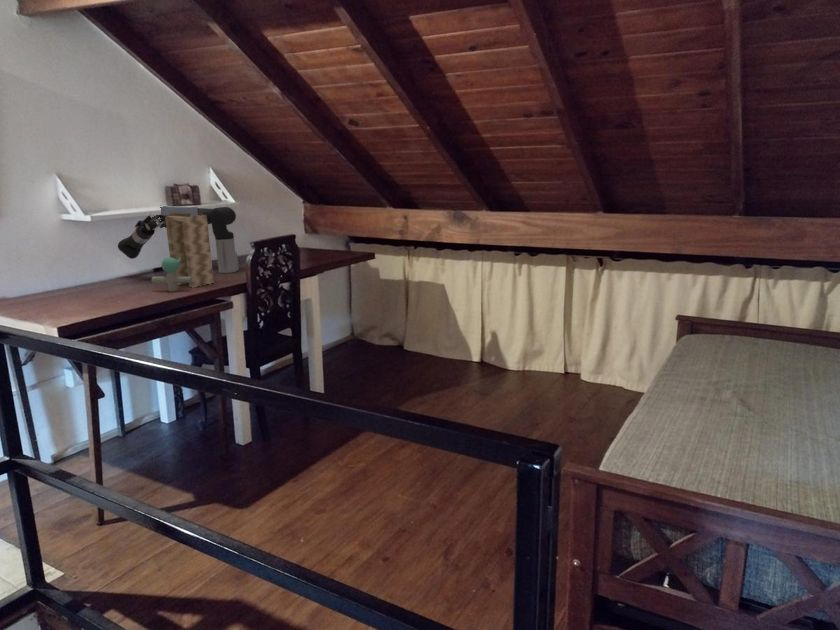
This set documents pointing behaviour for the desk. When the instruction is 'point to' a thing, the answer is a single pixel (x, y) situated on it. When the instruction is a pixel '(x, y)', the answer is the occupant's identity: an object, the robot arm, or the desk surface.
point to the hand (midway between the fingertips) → (158, 216)
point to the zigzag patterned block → (190, 247)
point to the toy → (171, 274)
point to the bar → (179, 210)
